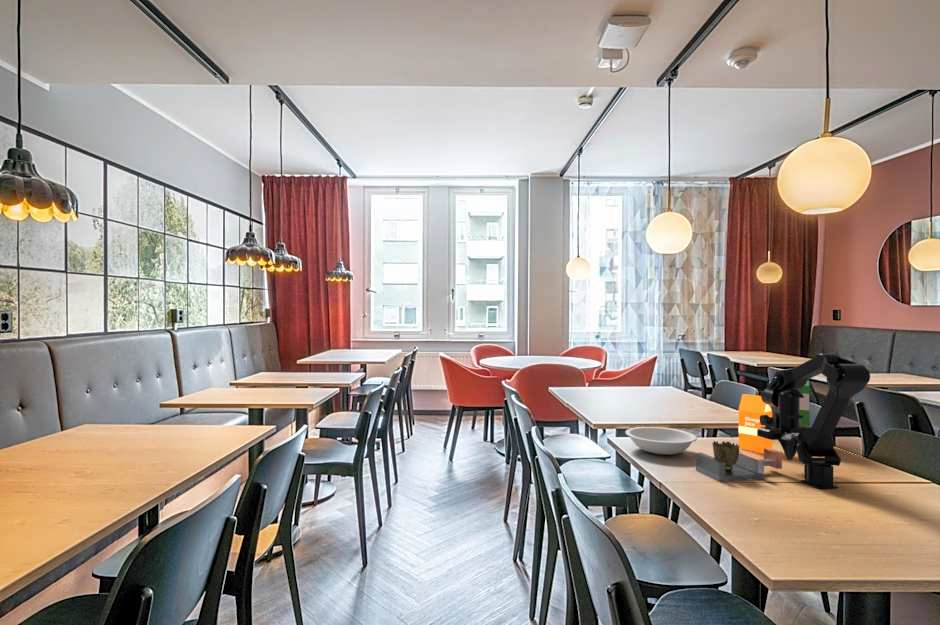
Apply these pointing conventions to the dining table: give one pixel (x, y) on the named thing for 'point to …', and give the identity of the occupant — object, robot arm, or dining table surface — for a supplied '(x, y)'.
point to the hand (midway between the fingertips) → (789, 459)
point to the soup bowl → (661, 439)
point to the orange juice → (752, 423)
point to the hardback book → (804, 405)
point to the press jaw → (760, 460)
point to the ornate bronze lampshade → (726, 453)
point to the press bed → (734, 474)
